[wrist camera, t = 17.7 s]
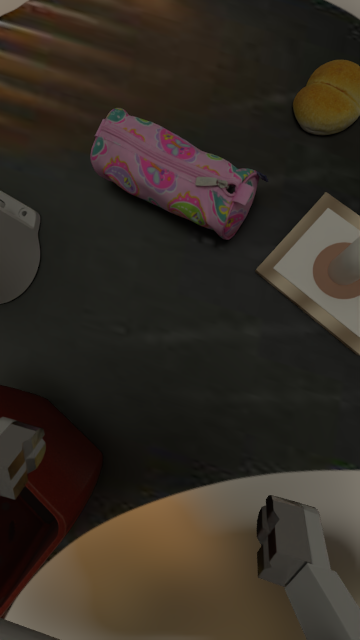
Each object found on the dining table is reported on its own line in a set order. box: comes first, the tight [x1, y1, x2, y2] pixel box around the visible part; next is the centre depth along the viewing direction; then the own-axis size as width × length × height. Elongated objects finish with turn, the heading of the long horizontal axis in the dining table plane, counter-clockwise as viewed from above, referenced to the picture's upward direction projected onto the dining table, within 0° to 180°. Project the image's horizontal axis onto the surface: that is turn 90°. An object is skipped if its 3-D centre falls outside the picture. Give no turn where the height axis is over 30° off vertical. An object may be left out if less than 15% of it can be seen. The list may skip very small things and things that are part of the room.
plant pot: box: [0, 385, 103, 617], centre depth 33 cm, size 19×19×17 cm
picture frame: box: [255, 193, 360, 355], centre depth 36 cm, size 16×13×1 cm
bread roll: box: [293, 60, 360, 135], centre depth 37 cm, size 8×9×4 cm
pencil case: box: [91, 108, 268, 240], centre depth 37 cm, size 21×9×9 cm, turn 58°
